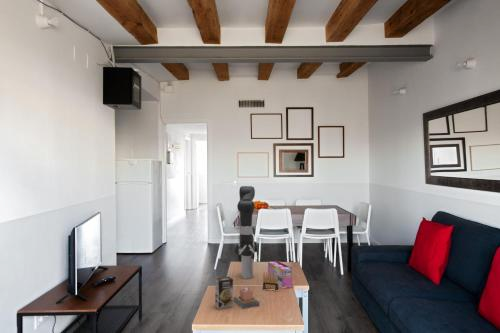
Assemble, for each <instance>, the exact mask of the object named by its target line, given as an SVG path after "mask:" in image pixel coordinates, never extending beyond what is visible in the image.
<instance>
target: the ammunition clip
mask: <svg viewBox="0 0 500 333" xmlns="http://www.w3.org/2000/svg"><path fill="white" fill-rule="evenodd" d="M262 276H263V278H262V279H263V280H262V290H263V289H275V290H278V289H280V287H279V286H278V274H277V273H276V278H275V273H274V278H273V274H272V273H271V278H270V272H269V277H268V272H265V271H263V275H262Z"/></svg>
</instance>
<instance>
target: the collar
mask: <svg viewBox="0 0 500 333" xmlns="http://www.w3.org/2000/svg"><path fill="white" fill-rule="evenodd" d="M247 287H248V291H244V288H245V287H242V288H239V296H240V299H241V300H242V301H249V300H253V297H254V290H253V289H252V288H250V286H247Z"/></svg>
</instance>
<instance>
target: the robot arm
mask: <svg viewBox="0 0 500 333" xmlns="http://www.w3.org/2000/svg"><path fill="white" fill-rule="evenodd" d="M255 192H256V189H255V187H254V186H252V185H246V186H245V185H242V186H240V187H239V193H238V194H239V201H238V203H237V206H236V207H237V210H238V211H239V243H237V242H236V243H234V253H235V254H236V255H237V260H238V261H239V262H241V279H244V280H250V279H251V280H252V279H253V278H254V260H255V253H257V252H258V242H257V241H254V239H255V238H254V234H253V215H254V214H253V213H254V211H255V206H256V205H255V202H254V198H255Z"/></svg>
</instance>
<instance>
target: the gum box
mask: <svg viewBox="0 0 500 333" xmlns="http://www.w3.org/2000/svg"><path fill="white" fill-rule="evenodd" d="M267 262H268V263H267V264H268V265H267V273H268V277H269V272H270V278H271V273H272V274H273V278H274V273H275V278H276V273H277V274H278V287H279V286H282V287H292V288H293V268H292V267H291V266H288V265H286V264H284V263H283V262H281V261H279V260H274V261H267Z"/></svg>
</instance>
